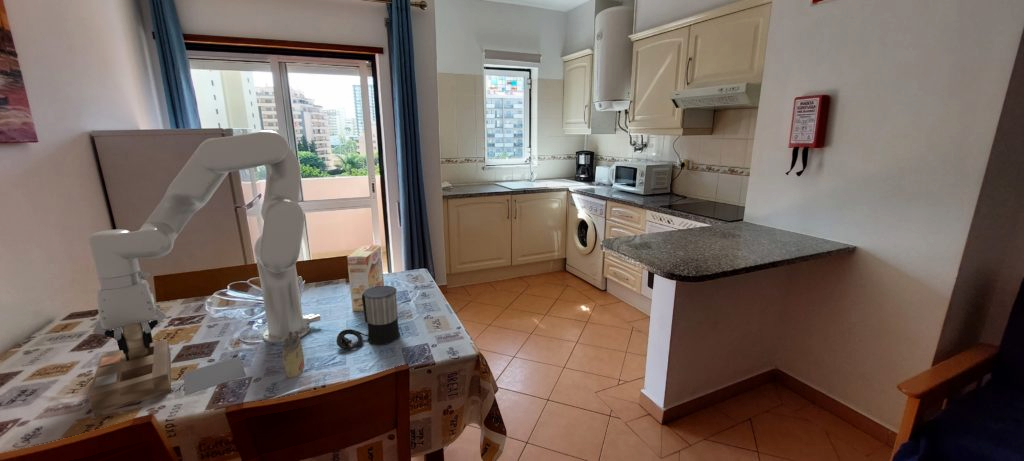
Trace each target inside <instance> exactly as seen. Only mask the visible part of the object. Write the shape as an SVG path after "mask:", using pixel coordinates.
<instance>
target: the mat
mask: <svg viewBox="0 0 1024 461" xmlns="http://www.w3.org/2000/svg"><path fill="white" fill-rule="evenodd" d="M246 376H247V375H246V371H245V367H244V365H243V362H242V360H241V356H236V357H232V358H230V359H226V360H223V361H220V362H219V361H218V362H216V363H213V364H208V365H205V366H202V367H198V368H195V369H192V370H188V371H185V372H183V384H184V396H189V395H190V394H194V393H197V392H199V391H202V390H207V389H209V388H213V387H215V386H218V385H222V384H225V383H228V382H231V381H234V380H238V379H240V378H245V377H246Z"/></svg>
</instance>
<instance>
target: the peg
mask: <svg viewBox="0 0 1024 461" xmlns="http://www.w3.org/2000/svg"><path fill="white" fill-rule="evenodd" d="M143 331H144V329H143V327H142V324H141V323H138V324H132V325H128V326H125V327H122V333H123V334H124V338H125V342H126V346H127V350H128V355H129V359H130V360H134V359H138V358H142V357H145V356H149V354H148V350H147V348H146V346H145V342H144V338H143V333H144V332H143Z"/></svg>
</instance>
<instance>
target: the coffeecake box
mask: <svg viewBox="0 0 1024 461" xmlns="http://www.w3.org/2000/svg"><path fill="white" fill-rule="evenodd" d="M346 260H347V270H348V279H349V280H348V281H349V289H350V300H351V308H352V312H353V311H354V312H357V311H358V312H364V309H363V302H362V294H363V293H364V291H365V290H367V289H369V288H372V287H376V286H385V282H384V270H383V269H384V268H383V257H382V245H379V244H378V245H376V244H375V245H374V244H367V245H362V246H360V247H359V248H357V249H356V250H355V251H353V252H352V253H350V254H349V255H347V256H346Z"/></svg>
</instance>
